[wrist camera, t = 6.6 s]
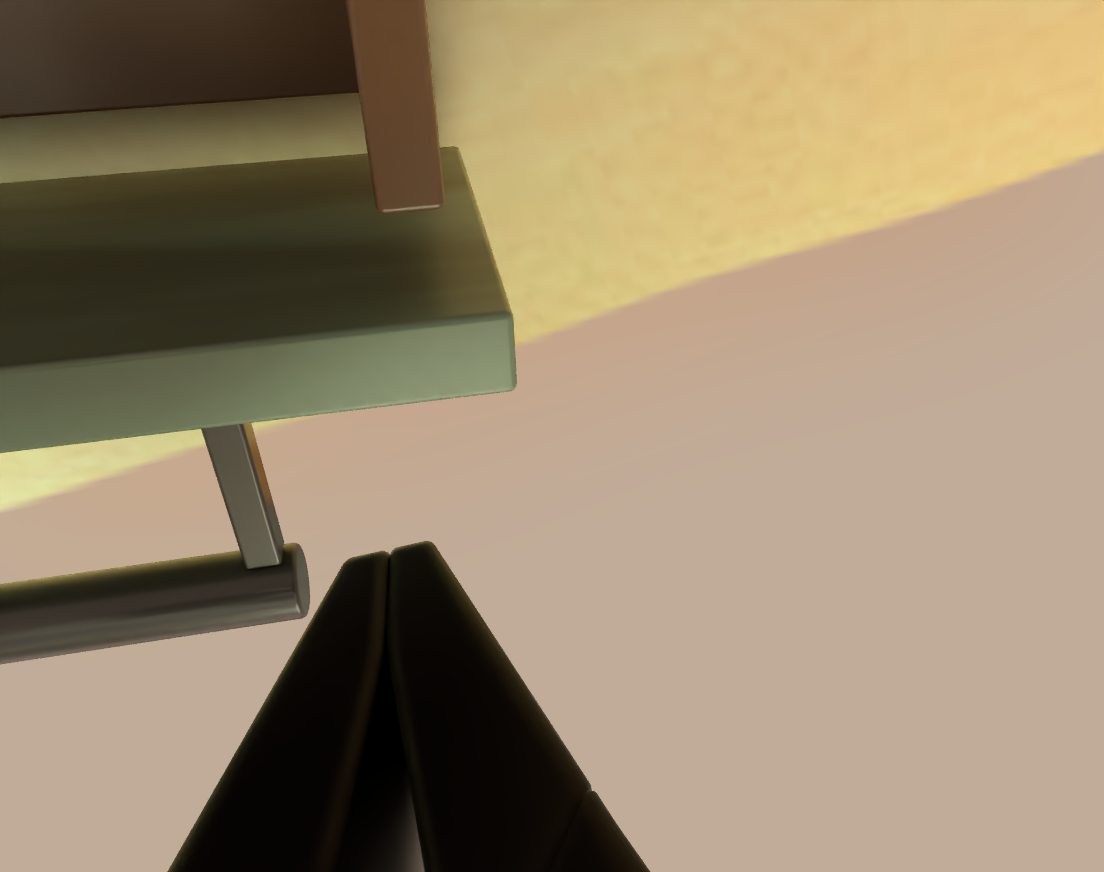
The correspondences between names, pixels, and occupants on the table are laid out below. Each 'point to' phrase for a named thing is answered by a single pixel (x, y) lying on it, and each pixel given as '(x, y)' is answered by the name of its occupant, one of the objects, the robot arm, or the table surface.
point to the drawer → (228, 281)
